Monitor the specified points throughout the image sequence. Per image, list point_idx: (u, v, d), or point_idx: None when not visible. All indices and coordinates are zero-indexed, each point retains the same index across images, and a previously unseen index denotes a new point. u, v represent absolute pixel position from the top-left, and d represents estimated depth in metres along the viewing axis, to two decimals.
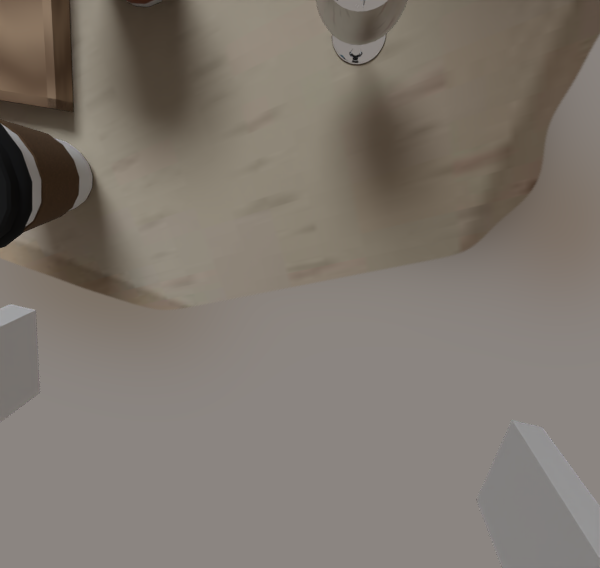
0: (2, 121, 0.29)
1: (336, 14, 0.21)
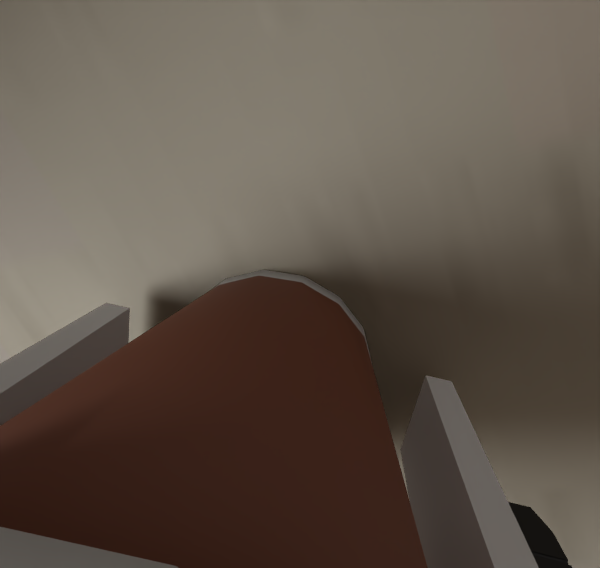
0: None
1: None
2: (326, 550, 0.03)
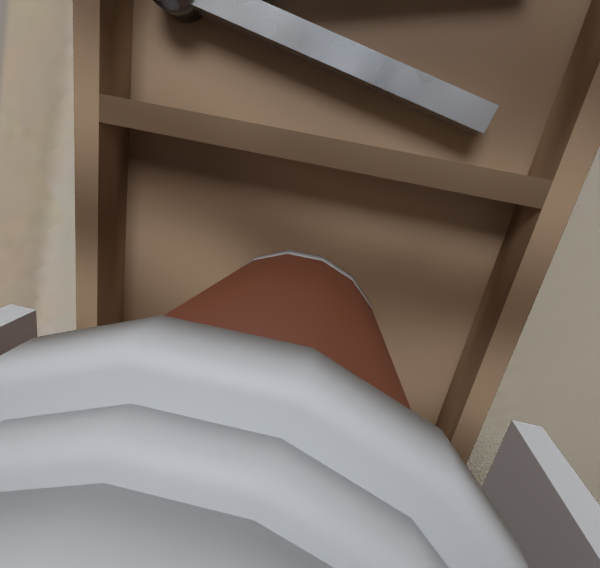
0: None
1: None
2: None
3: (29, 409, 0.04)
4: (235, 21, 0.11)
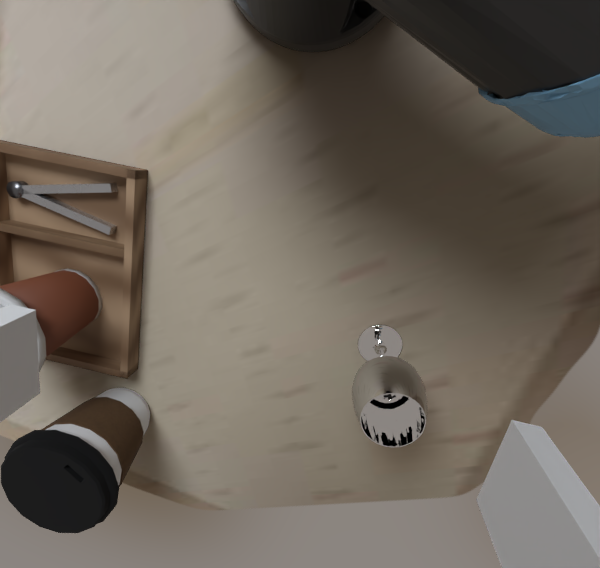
0: (93, 428, 0.36)
1: None
2: (23, 298, 0.31)
3: None
4: (34, 201, 0.37)
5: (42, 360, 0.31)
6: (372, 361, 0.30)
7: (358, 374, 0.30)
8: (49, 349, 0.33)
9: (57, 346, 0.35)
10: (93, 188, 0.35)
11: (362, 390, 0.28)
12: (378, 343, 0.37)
